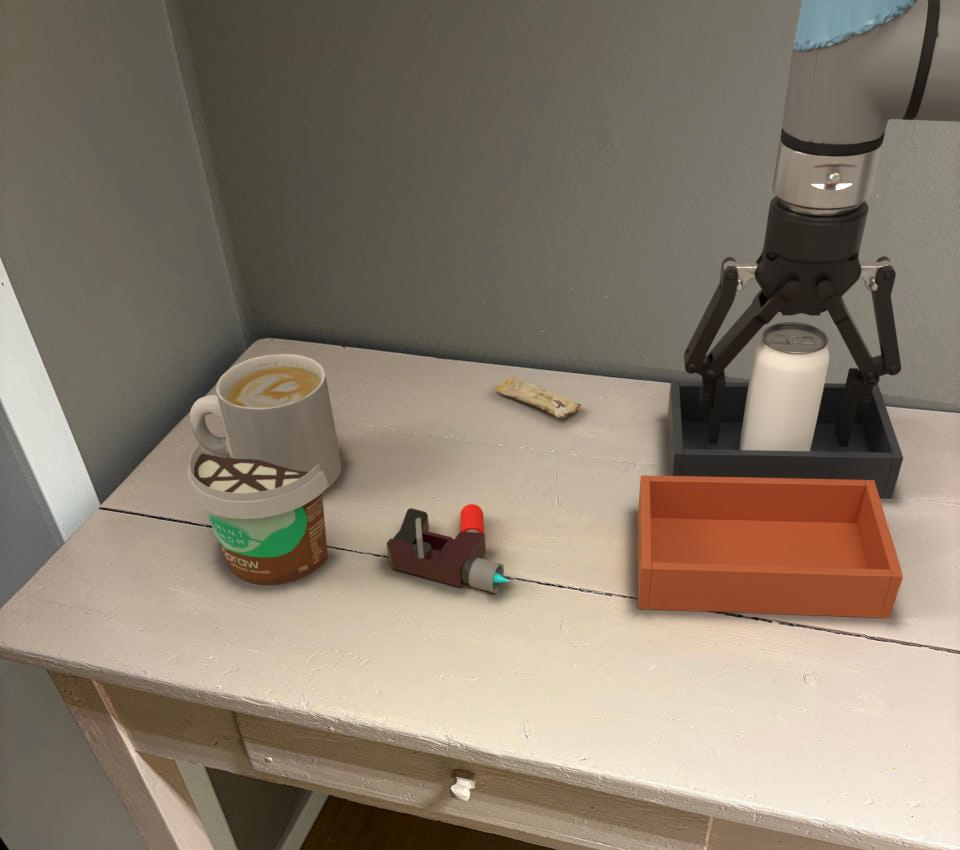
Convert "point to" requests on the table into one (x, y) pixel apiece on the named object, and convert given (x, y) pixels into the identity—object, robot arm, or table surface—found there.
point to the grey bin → (863, 459)
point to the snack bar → (538, 397)
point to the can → (785, 388)
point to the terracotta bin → (765, 546)
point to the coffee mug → (273, 415)
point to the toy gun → (446, 551)
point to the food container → (262, 515)
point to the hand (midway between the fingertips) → (776, 437)
